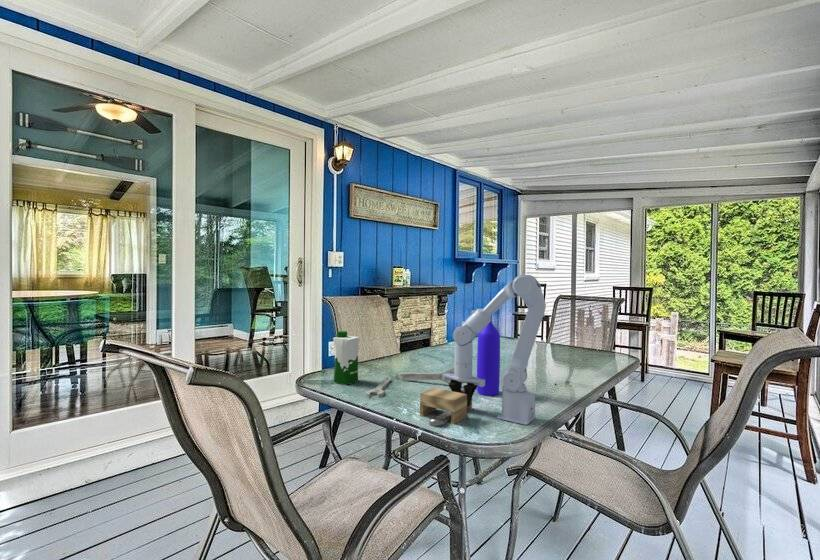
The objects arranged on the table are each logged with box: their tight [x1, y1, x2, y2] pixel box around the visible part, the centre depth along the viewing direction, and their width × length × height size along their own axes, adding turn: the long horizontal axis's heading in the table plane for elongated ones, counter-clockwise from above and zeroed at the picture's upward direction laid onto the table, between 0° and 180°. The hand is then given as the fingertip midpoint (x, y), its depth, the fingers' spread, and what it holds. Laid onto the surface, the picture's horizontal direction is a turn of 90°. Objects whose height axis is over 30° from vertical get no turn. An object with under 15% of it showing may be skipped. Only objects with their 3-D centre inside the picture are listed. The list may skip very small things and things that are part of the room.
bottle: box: [476, 312, 501, 397], centre depth 156 cm, size 8×8×30 cm
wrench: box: [395, 366, 455, 385], centre depth 168 cm, size 8×2×30 cm
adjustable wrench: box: [365, 377, 392, 398], centre depth 160 cm, size 25×6×2 cm, turn 165°
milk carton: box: [332, 330, 361, 385], centre depth 169 cm, size 9×9×20 cm
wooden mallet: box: [438, 388, 473, 423], centre depth 132 cm, size 3×17×6 cm, turn 144°
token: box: [428, 415, 446, 428], centre depth 123 cm, size 4×4×2 cm
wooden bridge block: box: [419, 387, 468, 425], centre depth 130 cm, size 12×8×7 cm, turn 55°
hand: (462, 405), depth 136 cm, fingers closed on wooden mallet, 3 cm apart
